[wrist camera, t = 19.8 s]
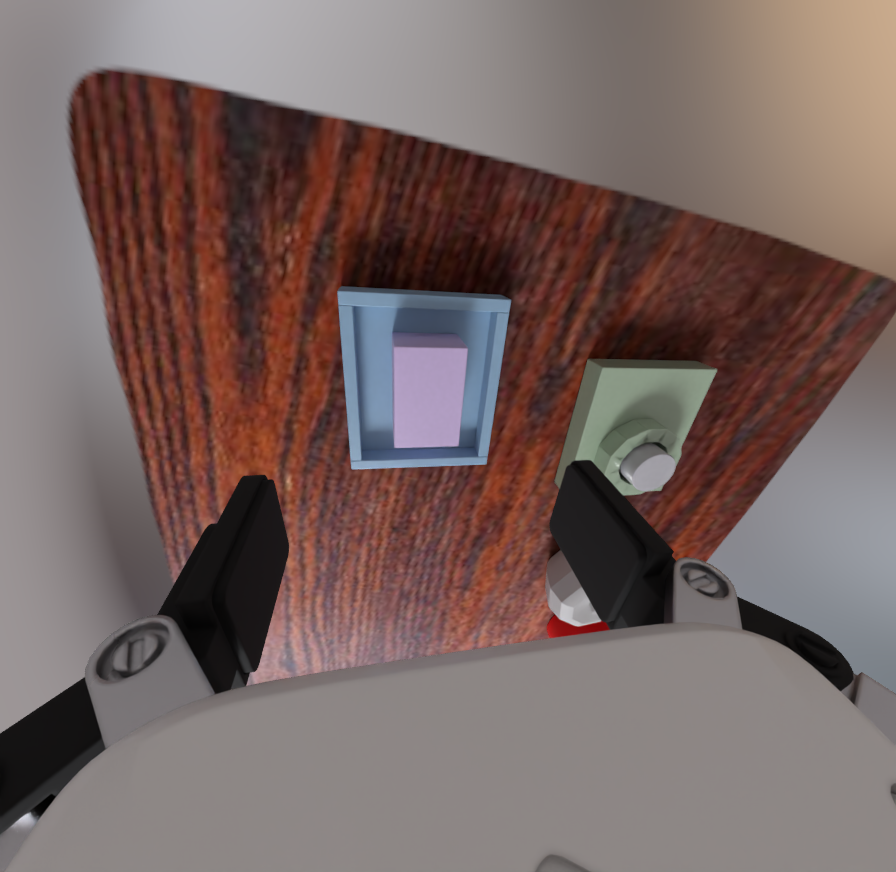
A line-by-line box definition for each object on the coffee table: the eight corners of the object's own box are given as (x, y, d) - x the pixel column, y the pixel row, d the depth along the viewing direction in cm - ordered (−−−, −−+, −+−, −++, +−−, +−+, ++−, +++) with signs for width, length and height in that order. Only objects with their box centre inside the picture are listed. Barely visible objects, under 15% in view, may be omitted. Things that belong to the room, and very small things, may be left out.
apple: (611, 536, 39) (650, 587, 33) (578, 584, 42) (609, 637, 37) (550, 529, 36) (580, 582, 31) (520, 579, 40) (543, 636, 34)
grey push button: (627, 443, 28) (642, 454, 26) (667, 441, 28) (683, 453, 27) (614, 479, 29) (626, 492, 28) (651, 477, 30) (665, 490, 29)
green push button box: (587, 358, 27) (617, 375, 24) (696, 360, 29) (738, 377, 26) (553, 481, 33) (573, 509, 30) (646, 477, 35) (675, 503, 32)
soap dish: (340, 286, 22) (337, 290, 20) (501, 294, 24) (511, 299, 22) (353, 454, 28) (351, 469, 26) (480, 451, 30) (486, 464, 28)
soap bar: (391, 331, 23) (393, 346, 20) (457, 333, 24) (468, 347, 21) (392, 424, 27) (394, 448, 24) (450, 423, 27) (458, 446, 24)
